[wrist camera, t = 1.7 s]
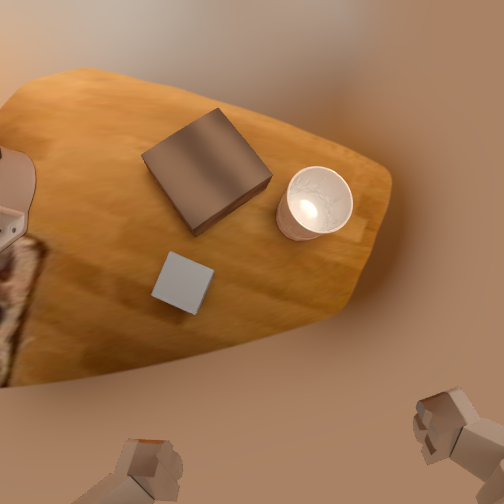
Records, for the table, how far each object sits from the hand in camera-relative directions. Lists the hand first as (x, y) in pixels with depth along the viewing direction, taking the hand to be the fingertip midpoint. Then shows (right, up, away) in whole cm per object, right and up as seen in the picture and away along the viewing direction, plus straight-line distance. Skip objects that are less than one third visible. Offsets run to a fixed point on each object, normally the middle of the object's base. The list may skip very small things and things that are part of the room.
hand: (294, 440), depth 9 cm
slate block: (-10, +2, +33) cm, 35 cm away
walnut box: (-8, +16, +36) cm, 40 cm away
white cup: (+5, +11, +36) cm, 38 cm away
